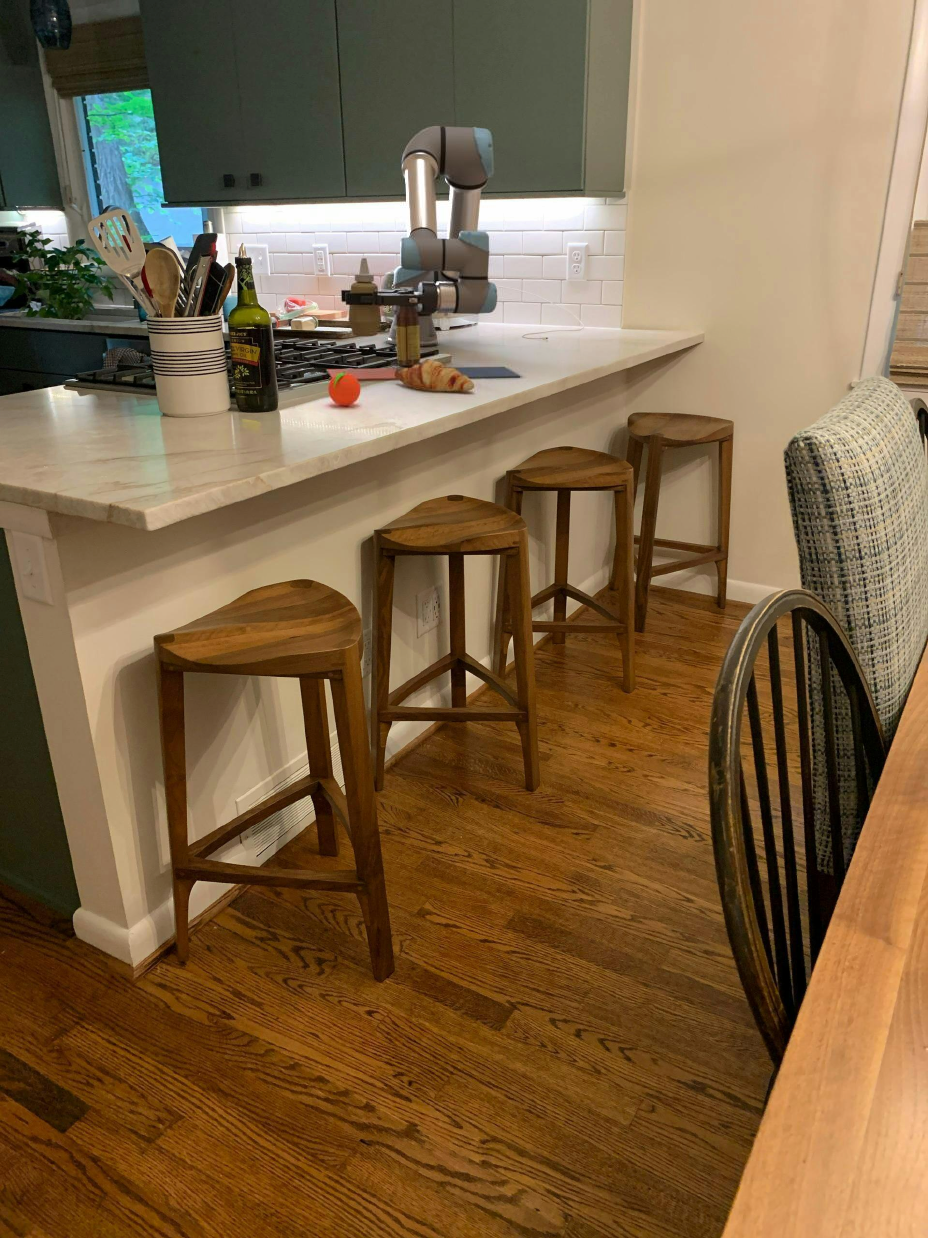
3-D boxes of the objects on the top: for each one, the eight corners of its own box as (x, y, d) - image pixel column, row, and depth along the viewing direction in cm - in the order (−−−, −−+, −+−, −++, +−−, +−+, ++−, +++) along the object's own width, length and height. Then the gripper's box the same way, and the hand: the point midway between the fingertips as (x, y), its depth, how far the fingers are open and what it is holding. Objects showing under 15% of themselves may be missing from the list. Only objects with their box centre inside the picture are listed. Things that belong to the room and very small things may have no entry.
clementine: (349, 410, 197) (349, 376, 194) (320, 407, 199) (319, 373, 196) (366, 404, 204) (365, 370, 201) (337, 400, 206) (336, 368, 203)
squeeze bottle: (342, 335, 230) (341, 257, 223) (358, 332, 237) (356, 256, 230) (371, 338, 228) (371, 259, 220) (386, 334, 235) (386, 258, 227)
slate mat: (439, 369, 248) (439, 367, 248) (503, 368, 252) (503, 366, 252) (452, 378, 236) (452, 376, 235) (519, 377, 240) (519, 375, 240)
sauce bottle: (421, 363, 255) (422, 286, 247) (418, 367, 249) (418, 288, 241) (397, 362, 255) (397, 285, 247) (394, 366, 250) (393, 287, 241)
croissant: (477, 405, 222) (485, 373, 222) (463, 391, 213) (471, 357, 213) (399, 394, 230) (407, 362, 230) (382, 380, 220) (390, 347, 220)
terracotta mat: (326, 370, 240) (326, 369, 240) (394, 369, 245) (394, 368, 245) (333, 380, 228) (333, 378, 228) (405, 379, 233) (405, 377, 232)
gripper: (444, 317, 226) (350, 317, 221) (426, 309, 243) (338, 308, 238) (445, 285, 223) (349, 284, 217) (426, 278, 240) (337, 277, 234)
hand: (343, 297), depth 227 cm, fingers closed on squeeze bottle, 6 cm apart
